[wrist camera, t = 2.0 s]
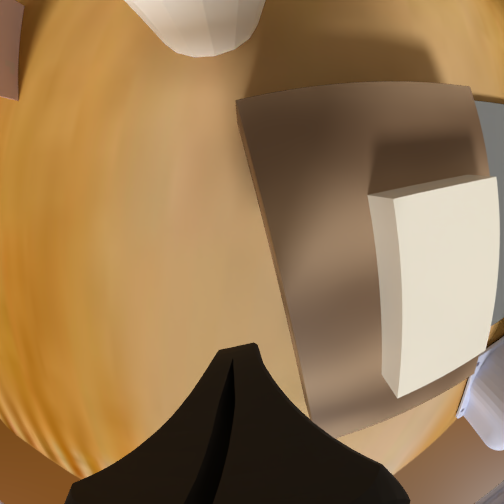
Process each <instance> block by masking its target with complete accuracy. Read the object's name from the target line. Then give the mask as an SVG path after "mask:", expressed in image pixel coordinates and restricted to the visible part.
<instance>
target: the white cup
mask: <svg viewBox="0 0 504 504" xmlns="http://www.w3.org/2000/svg"><path fill="white" fill-rule="evenodd" d="M124 1H125V2H126V3H127V4H128V5H129V6H130V7H131V8H132V9H133V10H134V11H135V12H136V13H137V14H138V15H139V16H140V17H141V19H142V20H143V21H144V22H145V23H146V24H147V25H148V26H149V27H150V28H151V29H152V30H153V32H154V33H155V34H156V35H157V36H158V37H159V38H160V39H161V40H162V42H163V43H164V44H165V45H167V46H168V47H169V48H171V49H172V50H173V51H175V52H176V53H179V54H183V55H187V56H191V57H208V56H217V55H220V54H223V53H226V52H228V51H232V50H235V49H236V48H237V47H239V46H240V45H241V44H243V43H244V42H245V41H247V40H248V39H250V37H251V35H252V34H253V32H254V30H255V29H256V27H257V25H258V22H259V19H260V16H261V13H262V10H263V7H264V4H265V1H266V0H124Z"/></svg>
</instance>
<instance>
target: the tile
mask: <svg viewBox="0 0 504 504" xmlns="http://www.w3.org/2000/svg"><path fill="white" fill-rule="evenodd" d="M367 196H368V201H369V207H370V213H371V219H372V226H373V233H374V240H375V248H376V256H377V266H378V276H379V288H380V303H381V325H382V376H383V377H384V379H385V380H386V382H387V383H388V385H389V386H390V388H391V390H392V391H393V393H394V394H395V396H396V397H397V398H400V397H402V396H404V395H406V394H409V393H411V392H413V391H415V390H417V389H419V388H421V387H423V386H425V385H427V384H429V383H431V382H433V381H435V380H437V379H439V378H441V377H442V376H444V375H446V374H448V373H450V372H451V371H453V370H455V369H456V368H458V367H460V366H462V365H463V364H465V363H466V362H468V361H470V360H471V359H473V358H474V357H476V356H477V355H479V354H481V353H482V352H484V351H485V350H486V346H487V341H488V337H489V332H490V327H491V322H492V317H493V311H494V304H495V297H496V289H497V280H498V268H499V248H500V218H499V199H498V187H497V178H496V177H494V176H481V175H463V176H458V177H453V178H447V179H442V180H437V181H432V182H427V183H422V184H417V185H412V186H407V187H402V188H398V189H393V190H388V191H384V192H379V193H374V194H370V195H367Z"/></svg>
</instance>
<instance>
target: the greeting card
mask: <svg viewBox="0 0 504 504" xmlns="http://www.w3.org/2000/svg"><path fill="white" fill-rule="evenodd" d="M24 7H25V6H24V5H22V4H20V3H19V2H17V1H16V0H0V96H1V97H5V98H9V99H13V100H17V101H19V99H18V60H19V44H20V34H21V26H22V19H23V12H24Z"/></svg>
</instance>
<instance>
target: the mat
mask: <svg viewBox="0 0 504 504" xmlns="http://www.w3.org/2000/svg"><path fill="white" fill-rule="evenodd" d="M475 105H476V108H477V112H478V116H479V120H480V124H481V128H482V133H483V137H484V142H485V147H486V153H487V159H488V165H489V172H490V176H494V177H496V178H497V187H498V199H499V218H500V248H499V268H498V280H497V289H496V297H495V304H494V311H493V317H492V322H491V326H492V325H494V324H495V323H497V322H498V321H499V320H501V319H502V318H504V104H498V103H491V102H482V101H475Z"/></svg>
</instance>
